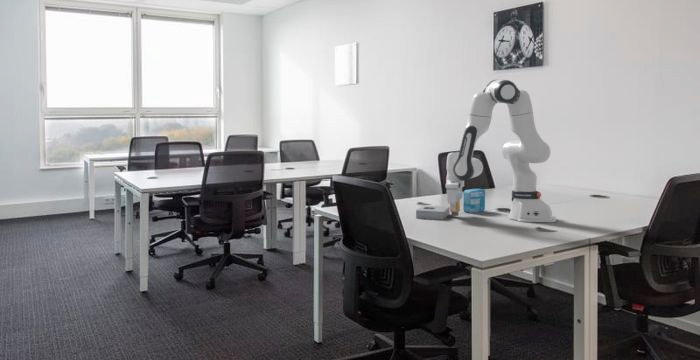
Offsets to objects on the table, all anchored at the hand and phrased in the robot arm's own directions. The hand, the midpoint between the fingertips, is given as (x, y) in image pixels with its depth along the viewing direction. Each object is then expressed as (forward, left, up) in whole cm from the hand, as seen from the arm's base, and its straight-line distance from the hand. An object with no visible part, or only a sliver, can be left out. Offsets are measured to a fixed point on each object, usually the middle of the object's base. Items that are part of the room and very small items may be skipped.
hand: (455, 209), depth 267 cm
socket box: (+11, +1, -4) cm, 12 cm away
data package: (-7, -19, -4) cm, 21 cm away
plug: (0, 0, -3) cm, 3 cm away
